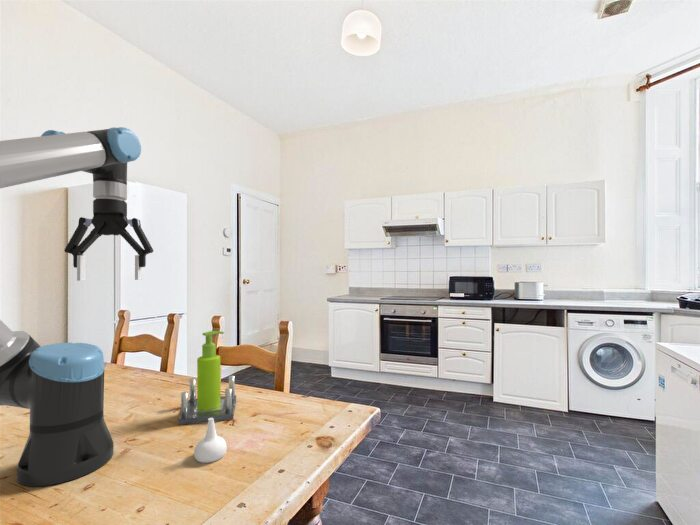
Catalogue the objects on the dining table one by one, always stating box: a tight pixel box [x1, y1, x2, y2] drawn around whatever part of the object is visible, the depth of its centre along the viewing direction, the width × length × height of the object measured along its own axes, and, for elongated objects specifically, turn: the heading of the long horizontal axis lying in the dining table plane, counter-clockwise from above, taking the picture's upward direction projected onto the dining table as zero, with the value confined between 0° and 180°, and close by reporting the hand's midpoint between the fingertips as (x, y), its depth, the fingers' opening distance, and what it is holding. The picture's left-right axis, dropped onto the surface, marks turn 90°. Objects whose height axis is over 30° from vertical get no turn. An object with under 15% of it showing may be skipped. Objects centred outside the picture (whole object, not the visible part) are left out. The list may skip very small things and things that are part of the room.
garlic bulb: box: [193, 418, 228, 464], centre depth 75 cm, size 6×6×8 cm
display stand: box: [177, 375, 237, 426], centre depth 98 cm, size 14×13×8 cm
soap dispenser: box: [196, 330, 225, 410], centre depth 99 cm, size 6×7×20 cm
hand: (110, 280), depth 95 cm, fingers open, 13 cm apart
